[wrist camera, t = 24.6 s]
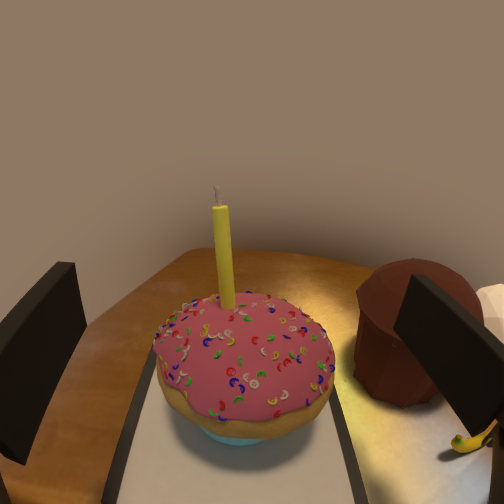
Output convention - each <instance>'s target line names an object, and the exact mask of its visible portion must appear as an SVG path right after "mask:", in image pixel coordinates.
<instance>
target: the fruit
mask: <svg viewBox="0 0 504 504" xmlns="http://www.w3.org/2000/svg"><path fill="white" fill-rule="evenodd" d="M491 430H492V429H491ZM491 430H489V431H487V432H484V433H482V434H480V435H477V436H475V437H473V438H472V437H471V438H468V439H464V438H463V437H461V436H460V435H456V437H455V438H453V440H452V441H451V445H452V447H453V449H454V450H456V451H457V452H460V453H466V452H470V451H473V450H476V449H478V448H480V447H482V445H481V443H482V440H483V439H484V438H485V437H486V435H487V434H488V433H489V432H490V431H491ZM491 439H492V438H490V439H489V440H488V441H487V442H486V443H485V444H487V443H488V442H489V441H490V440H491ZM485 444H484V445H485ZM484 445H483V446H484Z"/></svg>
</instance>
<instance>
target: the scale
mask: <svg viewBox="0 0 504 504" xmlns="http://www.w3.org/2000/svg"><path fill="white" fill-rule="evenodd" d="M155 340H157V337H155ZM153 346H154V344H153V345H152V347H151V350H150V353H149V355H148V358H147V361H146V363H145V366H144V369H143V371H142V374H141V377H140V380H139V382H138V385H137V388H136V391H135V394H134V396H133V399H132V402H131V405H130V408H129V411H128V414H127V417H126V420H125V423H124V426H123V429H122V432H121V435H120V438H119V441H118V444H117V448H116V451H115V454H114V457H113V461H112V464H111V467H110V471H109V474H108V478H107V481H106V485H105V488H104V492H103V496H102V499H101V503H102V504H369V503H368V500H367V496H366V492H365V488H364V484H363V481H362V477H361V473H360V470H359V466H358V463H357V459H356V456H355V452H354V449H353V445H352V442H351V438H350V435H349V432H348V428H347V425H346V422H345V418H344V415H343V412H342V408H341V405H340V402H339V399H338V395H337V392H336V389H335V386H334V384H333V388H332V392H331V394H330V397H329V399H328V401H327V403H326V405H325V406H324V408H323V409H322V411H321V412H320V414H319V415H318V416H317V417H316V418H315V419H314V420H312V421H310V422H309V423H307V424H305V425H303V426H301V427H299V428H297V429H295V430H293V431H292V432H290V433H289V434H287V435H285V436H283V437H280V438H277V439H272V440H263V441H261V442H259V443H256V444H252V445H247V446H233V445H227V444H224V443H221V442H218V441H216V440H214V439H213V438H211V437H210V436H208V435H207V434H206V433H205V432H204V431H203V430H202V429H201V428H200V426H199V425H197V424H195V423H193V422H191V421H189V420H188V419H186V418H185V417H183V416H182V415H180V414H179V413H177V412H176V411H175V410H174V409H173V408H172V407H171V406H170V405H169V404H168V402H167V401H166V399H165V397H164V394H163V392H162V389H161V387H160V385H159V382H158V378H157V370H156V360H157V354H156V353H155V352H154V351H153Z"/></svg>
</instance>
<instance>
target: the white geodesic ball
mask: <svg viewBox="0 0 504 504" xmlns="http://www.w3.org/2000/svg"><path fill="white" fill-rule="evenodd" d="M476 294H477V296H478V298H479V300H480V302H481V306H482V310H483V317H484V326H485V327H486V328H487V329H488V330H489V331H490V332H492V333H493V334H494V335H495V336H496V337H497V338H498V339H499V340H500V341H501V342H502V343H503V344H504V285H502V284H497V285H493V286H488V287H484V288H480V289H479V290H478V291H477V292H476Z"/></svg>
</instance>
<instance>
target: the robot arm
mask: <svg viewBox="0 0 504 504" xmlns="http://www.w3.org/2000/svg"><path fill="white" fill-rule="evenodd" d="M86 327H87V323H86V319H85V315H84V310H83V305H82V301H81V296H80V291H79V285H78V280H77V274H76V268H75V263H72V262H57V263H56V264H55V265H54V266H53V267H52V268H51V269H50V270H49V271H48V272H47V273H46V274H45V275H44V276H43V277H42V278H41V279H40V280H39V281H38V282H37V283H36V284H35V285H34V286H33V287H32V288H31V289H30V290H29V291H28V292H27V293H26V294H25V296H24V297H23V298H22V299H21V300H20V301H19V302H18V303H17V304H16V305H15V306H14V308H13V309H12V310H11V311H10V312H9V313H8V314H7V316H6V317H5V318H4V319H3V320H2V322H1V323H0V452H1V454H2V455H3V456H4V457H6V458H8V459H10V460H12V461H15V462H17V463H19V464H22V465H24V466H25V464H26V461H27V458H28V455H29V453H30V450H31V447H32V444H33V442H34V439H35V436H36V434H37V431H38V429H39V426H40V424H41V421H42V419H43V416H44V414H45V411H46V409H47V407H48V404H49V402H50V400H51V398H52V395H53V393H54V391H55V389H56V387H57V384H58V382H59V380H60V378H61V376H62V374H63V372H64V370H65V368H66V366H67V364H68V362H69V360H70V358H71V356H72V354H73V352H74V350H75V348H76V346H77V344H78V342H79V340H80V338H81V336H82V334H83V333H84V331H85V329H86ZM393 330H394V331H395V332H396V334H397V335H398V336H399V337H400V339H401V340H402V341H403V343H404V344H405V345H406V346H407V348H408V349H409V350H410V352H411V353H412V354H413V355H414V357H415V358H416V359H417V361H418V362H419V363H420V365H421V366H422V367H423V369H424V370H425V371H426V373H427V374H428V375H429V377H430V378H431V379H432V381H433V382H434V384H435V385H436V386H437V388H438V389H439V390H440V392H441V393H442V395H443V396H444V397H445V399H446V400H447V402H448V403H449V404H450V406H451V407H452V409H453V410H454V412H455V413H456V414H457V416H458V417H459V419H460V420H461V422H462V423H463V425H464V426H465V428H466V429H467V431H468V432H469V434H470V435H471V437H472V438H473V437H475V436H476V435H478V434H480V433H482V432H483V431H485V430H486V429H487V428H488V426H489V425H490V424H491V423H492V422H493V420H494V419H496V420H497V421H498V423H497V424H496V425H495V426H494V427H493V429H492V430H491V431H490V432H489V433H488V434H487V435H486V437H485V438H484V439H483V440H482V443H481V445H482V446H483V445H484V444H485V443H486V442H487V441H488V440H489V439H490V438H492V439H491V440H490V441H489V442H488V444H487V445H486V446H487V447H492V448H493V456H492V473H491V484H490V493H489V501H488V504H504V344H503V343H502V342H501V341H500V340H499V339H498V338H497V337H496V336H495V335H494V334H493V333H492V332H490V331H489V330H488V329H487V328H486V327H485V326H484V325H483V324H482V323H481V322H480V321H479V320H478V319H476V318H475V317H474V316H473V315H472V314H471V313H470V312H469V311H468V310H466V309H465V308H464V307H463V306H462V305H461V304H460V303H458V302H457V301H456V300H455V299H454V298H453V297H451V296H450V295H449V294H448V293H447V292H446V291H444V290H443V289H442V288H441V287H440V286H438V285H437V284H436V283H435V282H434V281H432V280H431V279H430V278H429V277H427V276H426V275H425V274H411V277H410V280H409V284H408V287H407V290H406V293H405V296H404V299H403V302H402V305H401V307H400V310H399V313H398V316H397V318H396V321H395V324H394V326H393ZM0 504H12V503H11V501H10V498H9V496H8V493H7V491H6V488H5V485H4V482H3V479H2V476H1V473H0Z"/></svg>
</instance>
